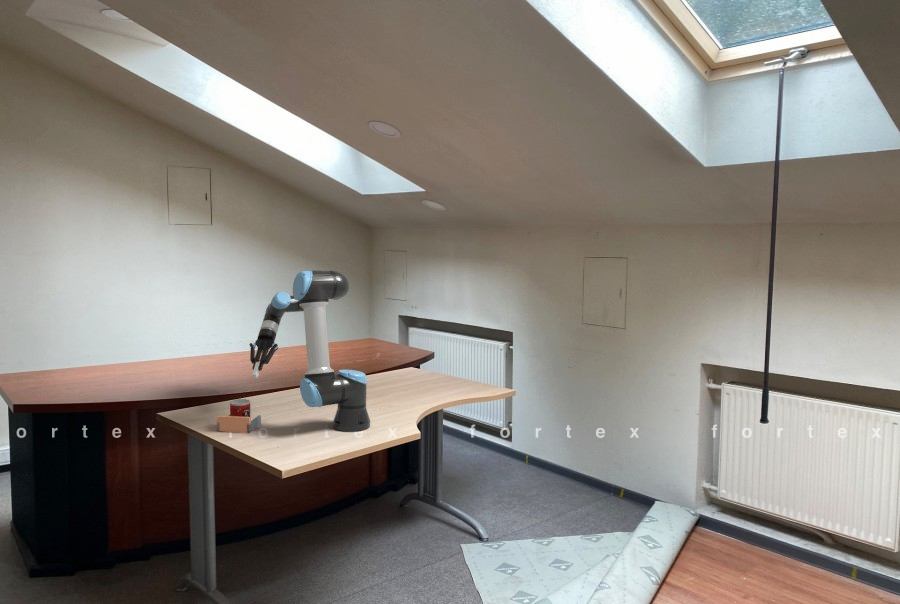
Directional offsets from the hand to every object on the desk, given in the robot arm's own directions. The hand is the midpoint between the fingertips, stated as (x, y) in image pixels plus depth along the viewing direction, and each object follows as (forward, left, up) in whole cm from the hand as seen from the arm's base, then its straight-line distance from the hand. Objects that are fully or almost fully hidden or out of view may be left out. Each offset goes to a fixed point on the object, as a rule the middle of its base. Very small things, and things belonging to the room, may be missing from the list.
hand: (254, 376), depth 264 cm
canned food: (-1, +18, -18) cm, 25 cm away
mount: (0, +17, -17) cm, 24 cm away
